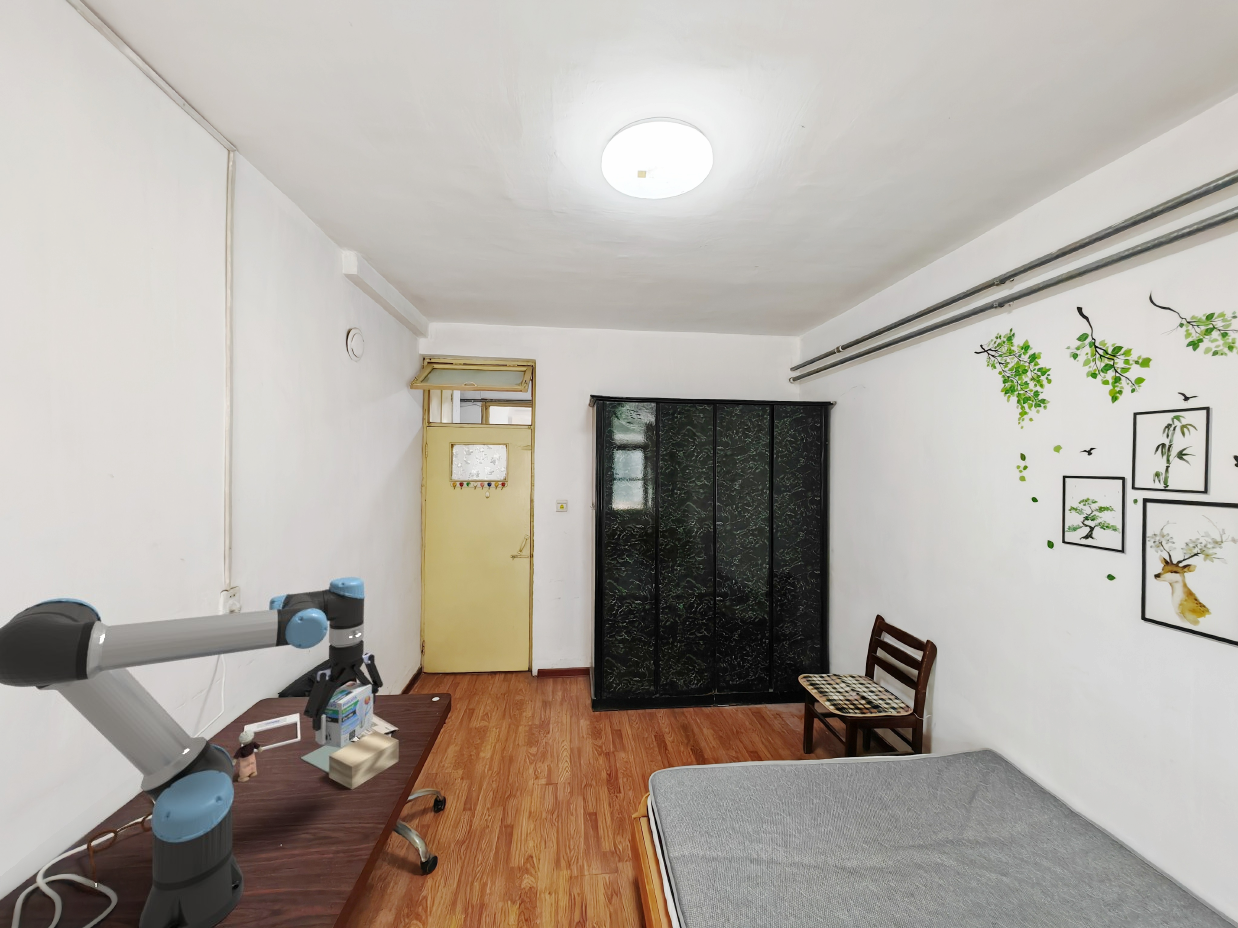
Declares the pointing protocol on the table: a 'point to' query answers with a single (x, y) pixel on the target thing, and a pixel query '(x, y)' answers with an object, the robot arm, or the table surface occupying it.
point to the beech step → (363, 759)
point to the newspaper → (377, 727)
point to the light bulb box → (348, 714)
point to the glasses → (115, 832)
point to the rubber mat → (322, 756)
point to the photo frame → (272, 724)
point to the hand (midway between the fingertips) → (345, 729)
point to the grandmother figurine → (246, 756)
